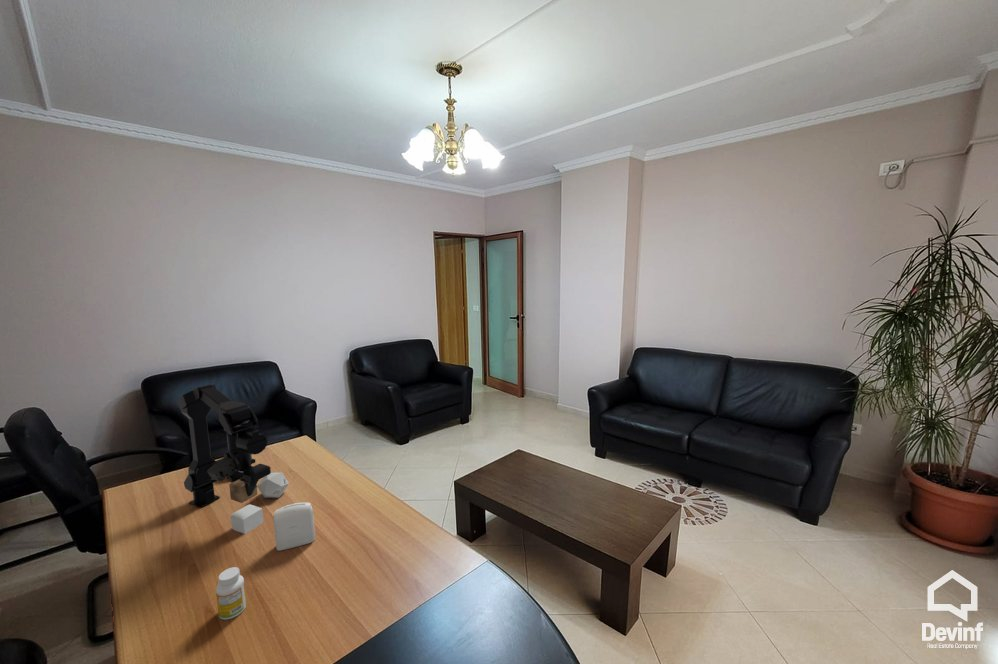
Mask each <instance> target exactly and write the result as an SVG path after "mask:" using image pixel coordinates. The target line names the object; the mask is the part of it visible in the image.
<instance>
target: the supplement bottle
mask: <svg viewBox="0 0 998 664" xmlns="http://www.w3.org/2000/svg"><path fill="white" fill-rule="evenodd" d="M245 587H246V585H245V579H244V577H243V575H241V572H240V568H239V567H236V566H233V567H229V568H226V569H225V570H223V571H222V572H221V573H220V574H219V575H218V584H217V586H216V587H215V593H216V597H215V598H216V604H217V612H218V617H219V619H220V620H230V619H234V618H236V617H237V616H239V615H241V614H242V613H243V612H244V610H245V609H246V607H247V594H246V588H245Z"/></svg>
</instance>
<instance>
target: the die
mask: <svg viewBox="0 0 998 664" xmlns="http://www.w3.org/2000/svg"><path fill="white" fill-rule="evenodd" d="M289 485H290V482H289V481H288V480H287V478H286V476H285V475H284V473H283V472H272V471H271V474H269V475H267V476H265V477H263V478H261V479H260V482H259V483H257V490H258V491H259V492H260V493H261V495H262V496H263V498H265V499H271V498H272V499H273V498H274V499H277V498H278V499H279V498H281V496H282V494H283V493H284V491H285V490H286V489H287V488H288V486H289Z"/></svg>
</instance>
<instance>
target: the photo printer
mask: <svg viewBox="0 0 998 664" xmlns="http://www.w3.org/2000/svg"><path fill="white" fill-rule="evenodd" d="M313 509H314V508H313V507H312V504H311V502H296V503H290V504H288V505H284V506H282V507H279V508H278V509H276V510H274V514H273V529H274V539H275V541H274V542H275V549H276V551H278V552H279V551H280V552H281V551H284V550H285V551H286V550H288V549H292V548H297V547H300V546H304V545H307V544H310V543H314V541H315V540H316V530H315V520H314V510H313Z"/></svg>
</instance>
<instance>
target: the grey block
mask: <svg viewBox="0 0 998 664" xmlns="http://www.w3.org/2000/svg"><path fill="white" fill-rule="evenodd" d="M230 520H231V521H230V523H231V530H234V531H235V532H239V533H241V534H244V535H246V534H248V533H249V532H251V531H253V530H254V529H256V528H257V527H259V526H260V525H263V524H264V521H265V520H264V511H263V508H262V507H259V506H257V505H253V504H250V503H249V504H247V505H246V506H244V507H242V508H240V509H238V510H236V511H235V512H233V513H231V514H230Z"/></svg>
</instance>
